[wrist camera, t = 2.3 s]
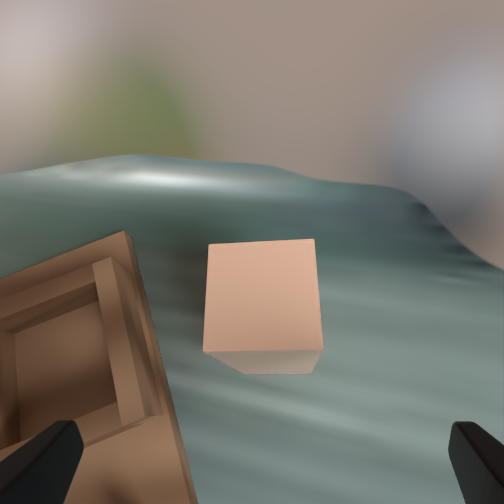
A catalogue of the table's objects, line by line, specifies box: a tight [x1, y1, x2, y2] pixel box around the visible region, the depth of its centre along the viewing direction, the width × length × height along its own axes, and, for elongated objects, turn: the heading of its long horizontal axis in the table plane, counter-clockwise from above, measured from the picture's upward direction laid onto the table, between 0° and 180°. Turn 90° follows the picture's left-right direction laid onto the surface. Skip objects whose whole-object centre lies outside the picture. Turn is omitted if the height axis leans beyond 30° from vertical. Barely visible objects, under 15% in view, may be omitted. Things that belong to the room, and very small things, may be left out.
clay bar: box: [203, 239, 323, 374], centre depth 16 cm, size 4×4×10 cm
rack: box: [0, 230, 198, 504], centre depth 19 cm, size 20×10×4 cm, turn 21°
